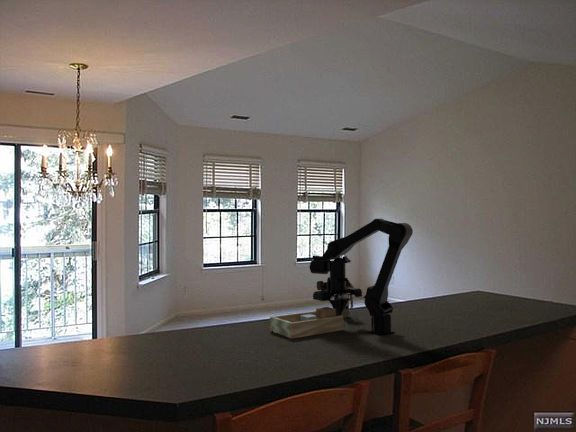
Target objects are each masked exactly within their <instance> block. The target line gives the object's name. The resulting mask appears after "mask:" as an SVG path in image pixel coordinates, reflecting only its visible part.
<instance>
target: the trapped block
mask: <svg viewBox="0 0 576 432" xmlns="http://www.w3.org/2000/svg"><path fill="white" fill-rule="evenodd" d="M314 319H316V315H311V314H307V315H301V316H300V321H307V320H314Z"/></svg>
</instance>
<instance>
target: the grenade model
mask: <svg viewBox="0 0 576 432" xmlns="http://www.w3.org/2000/svg"><path fill="white" fill-rule="evenodd" d="M352 287H353V288H355V287H354V285H353V284H352V283H351V282H350V281H349V279H348V281H346V288H352ZM348 298H349V299H350V300H349V301H348V302H347V304H346V306H345V308H344V310H343V312H342V314H341V315H342V316H343V319H349V318H350V317H351V315H352V313H351V311H350V310H352V309H353V308H354V300H353V295H348Z"/></svg>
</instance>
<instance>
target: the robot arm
mask: <svg viewBox="0 0 576 432" xmlns="http://www.w3.org/2000/svg"><path fill="white" fill-rule="evenodd" d="M379 232H382V233H383V234H386V235H388V248H387V249H386V250H387V251H386V253H385V257H384V259H383V261H382V264H381V267H380V270H379V272H378V274H377V277H376V281H375V284H374V285H371V286H368V287H367V288H366V293H365V295H364V296H363V291H362V290H361V288H357V287H354V286H352V288H346V281H348V280H349V278H348V277H346V264H350V263H352V261H351V259H350V258H349V257H348V256H347V255H346V254H348V253H349V252H350V251H351V250H352V249H353V247H354V246H355V245H357V244H358V243H360V242H362V241H364V240H367V238H370V237H371V236H373V235H374V234H375V235H376V234H377V233H379ZM413 232H414V231H413V228H412V226H411V225H410V224H409V223H408V222H407V223H406V222H395V221H389V220H387V219H384V218H374V219H373V220H371V221H370V222H368V223H367V224H365V225H364V226H362V227H360V228H358V229H357V230H355V231H352V232H351V233H350V234H348V235H346V236H344V237H340V238H337V239H333V240H331V241H329V242H328V243H327V247H326V250H325V252H324V253H323V255H322V256H321V255H316V254H314V255H312V259H311V260H310V263H309V271H310V273H311V274H314V275H315V274H316V275H328V274H329V277H327V280H326V282H324V280H319V281H316V291H314V292H313V293H312V300H314V301H320V302H327V301H328V302H329V303H330V304H331V308H334V309H336V316H341V314H342V312H343V310H344V308H345V306H346V304H347V302H348V301H349V302H350V297H349V298H348V295H349V296H350V295H352V296H354V297H355V298H360V297H362V296H363V299H364V301H363V302H364V303H363V304H364V305H365V307H366V309H367V310H368V314H369V315H370V317H371V320H370V321H371V322H370V323H371V324H370V325H371V329H369V330H368V333H372V334H376V335H380V336H382V335H383V336H384V335H389V334H394V333H395V330H392V315H391V314H392V313H393V312H394V307H393V305H392V304H390V302H389V301H388V298H389V285H390V282H391V279H392V276H393V275H394V272H395V269H396V266H397V263H398V261H399V259H400V256H401V252H402V251H403V249H404V248H405V246H406V245H407V244H408V243H409V241H410V239H411V238H412V236H413ZM331 259H333V260H331ZM353 287H354V288H353Z"/></svg>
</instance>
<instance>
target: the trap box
mask: <svg viewBox="0 0 576 432" xmlns="http://www.w3.org/2000/svg"><path fill="white" fill-rule="evenodd" d="M307 314H311V315H316V310H313V311H304V312H297V313H288V314H282V315H275V316H269V325H270V326H269V331H270V332H272V331H273V332H272V333H274V334H277V333H278V335H281V336H282V337H283V336H284V337H287V338H289V339H296V338H304V337H309V336H314V335H316V336H317V335H321V334H327V333H333V332H339V331H344V318H343V316H342V315H341V316H334V317H327V318H321V319H314V320H307V321H300V316H301V315H307Z"/></svg>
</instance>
